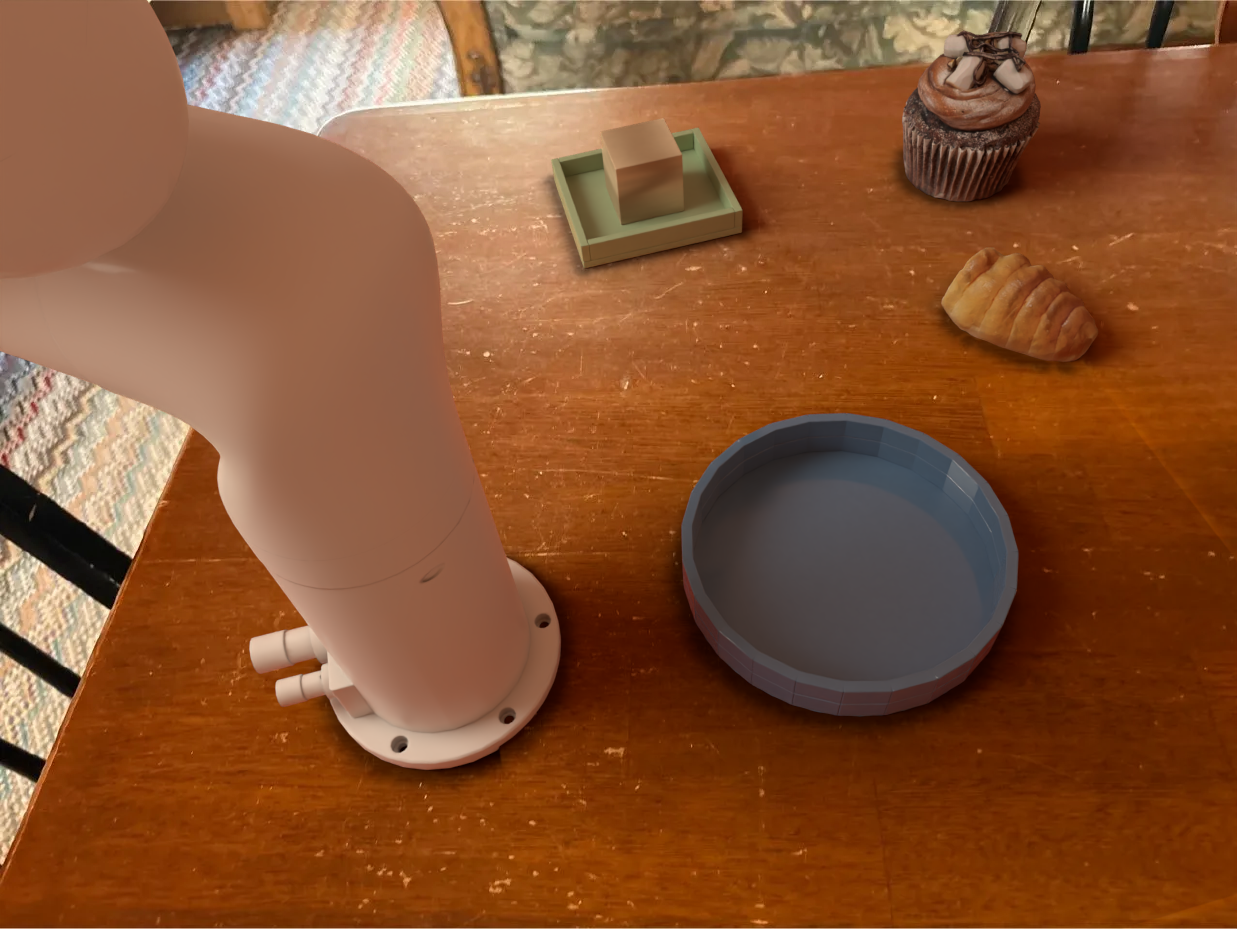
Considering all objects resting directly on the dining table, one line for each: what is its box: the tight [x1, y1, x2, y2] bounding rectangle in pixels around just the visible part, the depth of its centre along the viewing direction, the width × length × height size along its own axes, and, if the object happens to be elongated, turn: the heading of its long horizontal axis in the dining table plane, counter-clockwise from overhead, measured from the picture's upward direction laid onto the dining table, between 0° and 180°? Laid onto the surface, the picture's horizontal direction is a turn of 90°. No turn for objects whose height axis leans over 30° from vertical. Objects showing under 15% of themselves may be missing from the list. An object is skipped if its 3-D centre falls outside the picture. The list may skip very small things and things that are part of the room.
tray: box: [550, 126, 744, 269], centre depth 72 cm, size 12×11×2 cm
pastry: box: [941, 246, 1099, 363], centre depth 61 cm, size 9×7×4 cm
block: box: [599, 117, 684, 225], centre depth 71 cm, size 5×5×5 cm
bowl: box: [680, 412, 1020, 717], centre depth 51 cm, size 17×17×4 cm
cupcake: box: [901, 30, 1042, 202], centre depth 69 cm, size 10×10×10 cm
